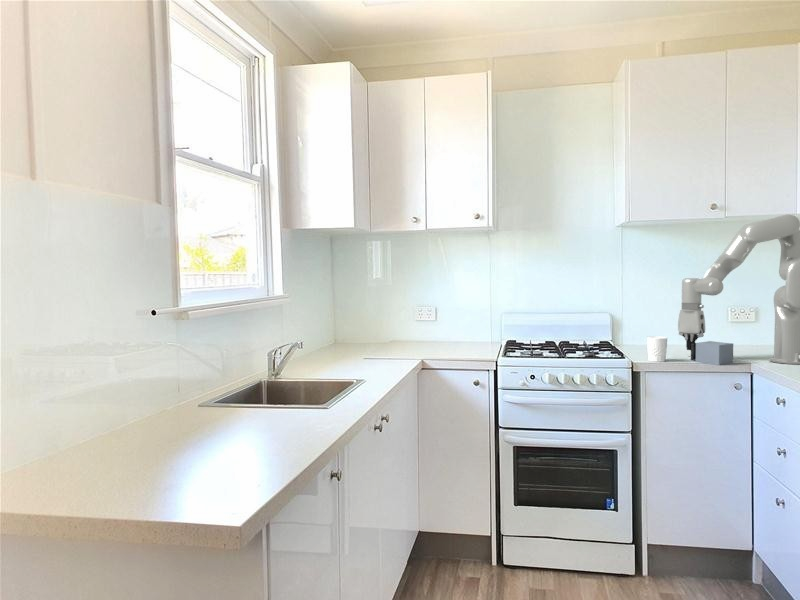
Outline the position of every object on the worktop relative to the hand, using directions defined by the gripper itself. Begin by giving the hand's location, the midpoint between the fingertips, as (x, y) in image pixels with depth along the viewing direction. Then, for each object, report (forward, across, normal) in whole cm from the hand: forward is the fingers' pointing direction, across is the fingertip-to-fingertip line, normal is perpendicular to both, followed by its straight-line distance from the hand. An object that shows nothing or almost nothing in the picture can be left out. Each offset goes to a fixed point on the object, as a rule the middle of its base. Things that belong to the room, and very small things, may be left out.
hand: (690, 349), depth 251 cm
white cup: (+4, +6, +15) cm, 17 cm away
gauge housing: (+4, -5, -2) cm, 7 cm away
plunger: (+4, -7, -2) cm, 9 cm away
